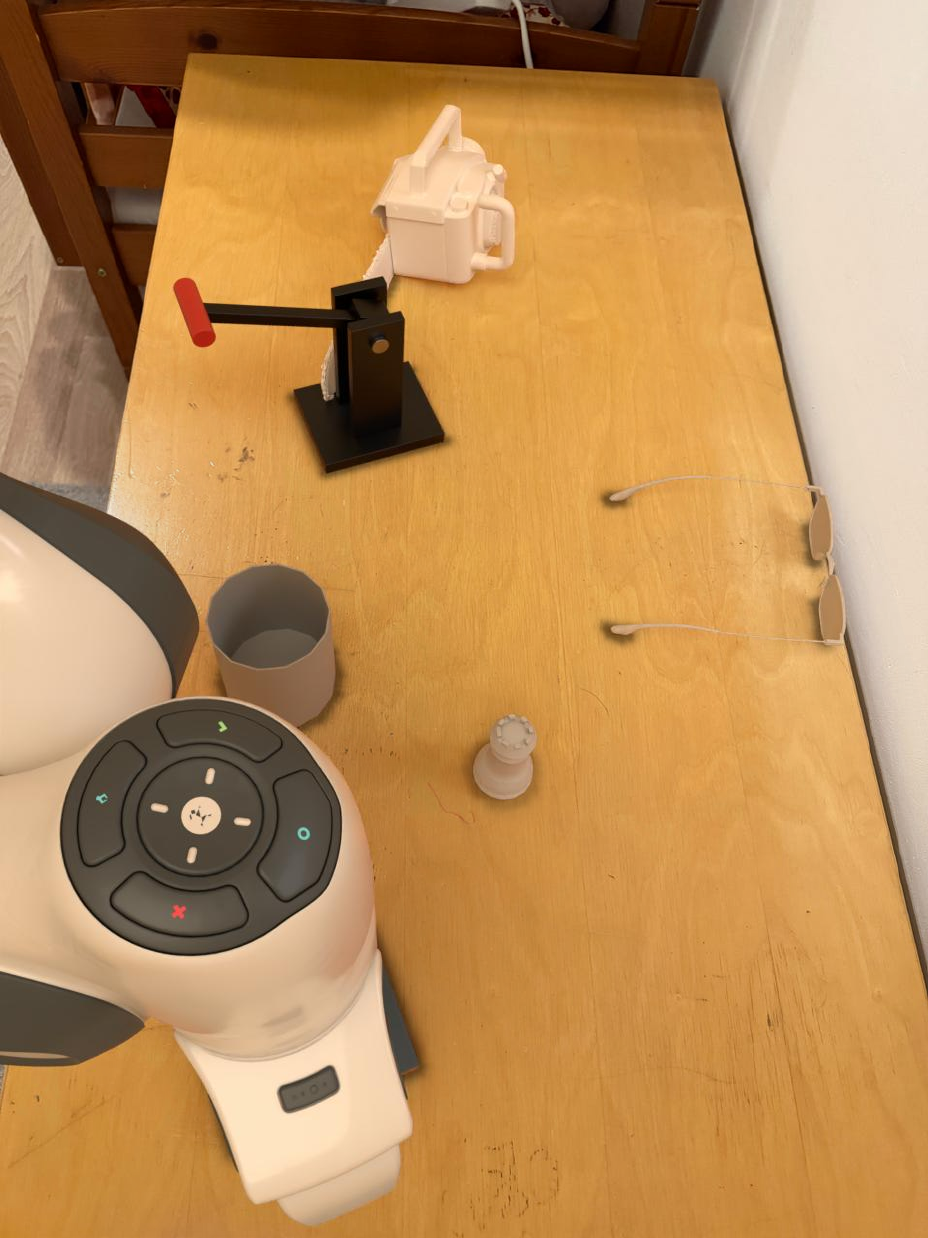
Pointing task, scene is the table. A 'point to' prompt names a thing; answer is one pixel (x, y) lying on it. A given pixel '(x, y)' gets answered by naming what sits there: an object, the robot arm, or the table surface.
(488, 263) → the chainsaw
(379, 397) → the press bracket
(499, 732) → the rook chess piece
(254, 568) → the cup
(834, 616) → the eyeglasses
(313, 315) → the press lever
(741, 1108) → the table surface
